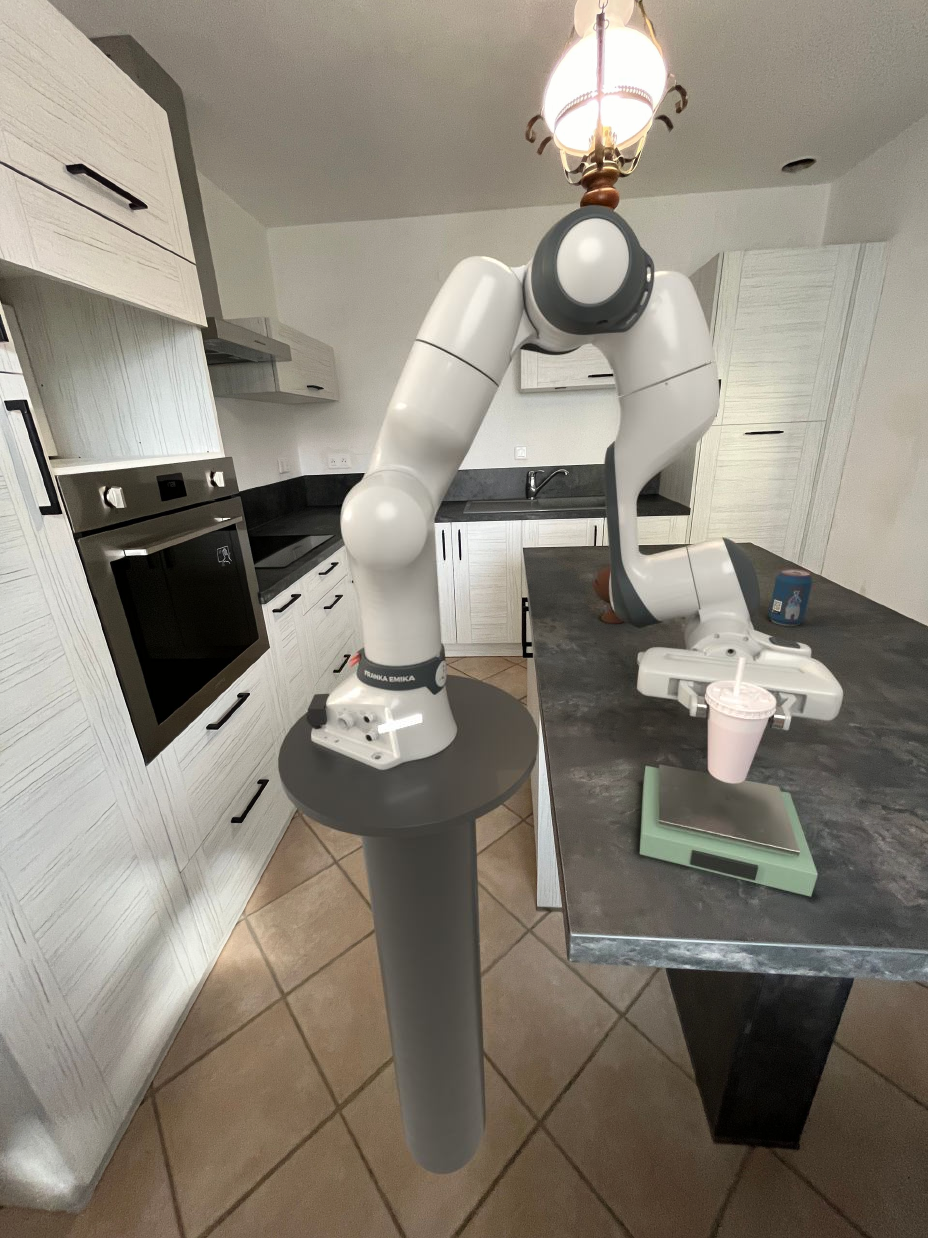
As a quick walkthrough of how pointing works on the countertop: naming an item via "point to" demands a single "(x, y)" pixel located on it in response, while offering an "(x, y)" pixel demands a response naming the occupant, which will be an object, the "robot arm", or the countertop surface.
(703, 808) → the scale pan
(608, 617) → the ice cream bowl
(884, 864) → the countertop surface
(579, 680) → the countertop surface
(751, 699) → the smoothie
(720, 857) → the kitchen scale
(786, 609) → the soda can
